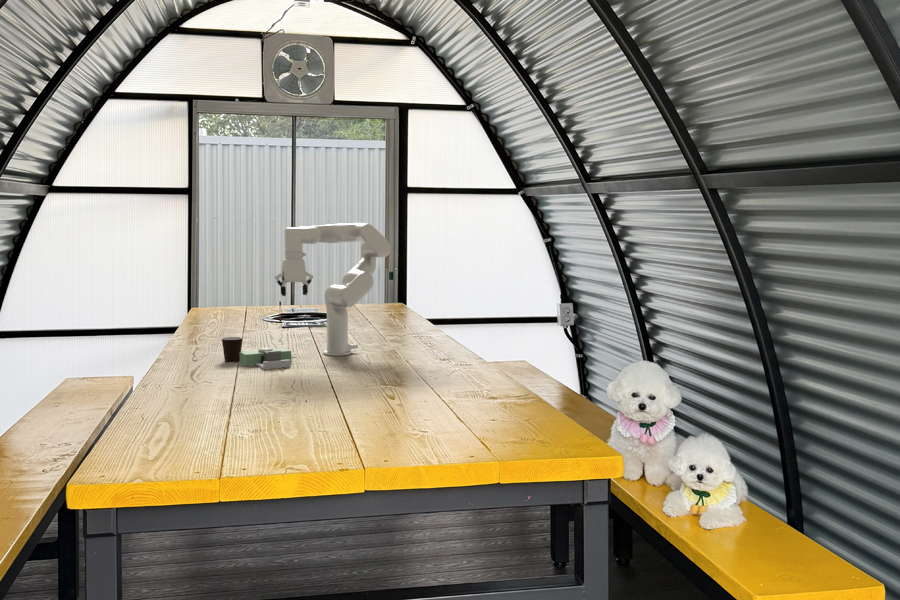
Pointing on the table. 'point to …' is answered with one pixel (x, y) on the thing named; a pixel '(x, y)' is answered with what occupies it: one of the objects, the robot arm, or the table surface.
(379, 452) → the table surface
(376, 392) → the table surface
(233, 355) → the coffee mug
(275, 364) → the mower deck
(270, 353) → the grey block
